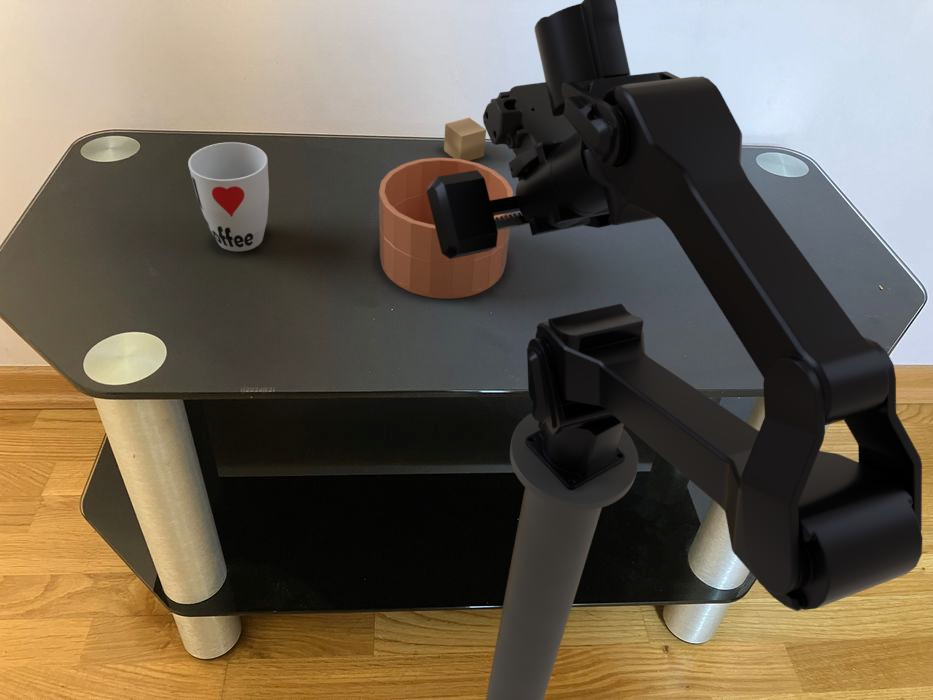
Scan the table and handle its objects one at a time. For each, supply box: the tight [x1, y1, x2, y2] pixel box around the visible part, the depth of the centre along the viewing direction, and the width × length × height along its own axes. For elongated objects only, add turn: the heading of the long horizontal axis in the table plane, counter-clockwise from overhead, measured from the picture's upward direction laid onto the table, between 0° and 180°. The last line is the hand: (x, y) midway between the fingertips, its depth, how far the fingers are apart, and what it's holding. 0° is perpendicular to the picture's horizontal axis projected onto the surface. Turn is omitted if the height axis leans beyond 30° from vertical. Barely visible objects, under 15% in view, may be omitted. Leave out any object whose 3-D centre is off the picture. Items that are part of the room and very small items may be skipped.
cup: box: [187, 141, 270, 252], centre depth 86 cm, size 8×8×10 cm
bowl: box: [378, 157, 514, 300], centre depth 86 cm, size 14×14×9 cm
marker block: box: [443, 117, 487, 162], centre depth 106 cm, size 4×4×4 cm
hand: (505, 222), depth 71 cm, fingers open, 9 cm apart
